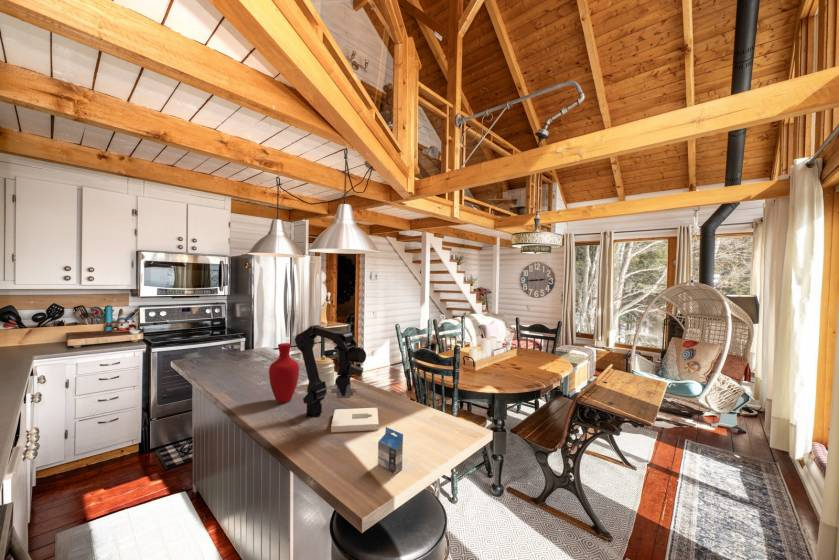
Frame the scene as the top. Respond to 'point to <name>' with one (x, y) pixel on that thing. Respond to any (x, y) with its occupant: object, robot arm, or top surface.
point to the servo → (348, 392)
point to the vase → (284, 375)
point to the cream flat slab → (355, 420)
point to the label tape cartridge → (391, 451)
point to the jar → (325, 370)
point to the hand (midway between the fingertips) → (343, 394)
